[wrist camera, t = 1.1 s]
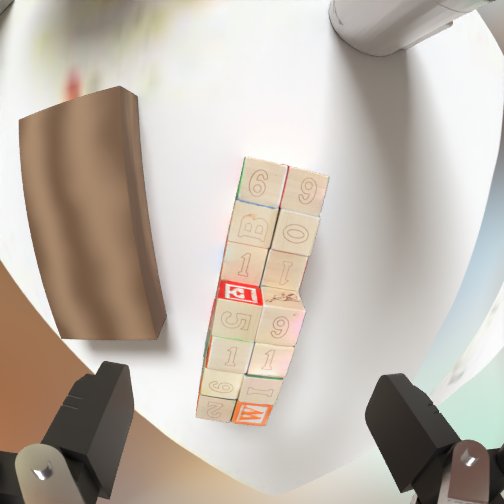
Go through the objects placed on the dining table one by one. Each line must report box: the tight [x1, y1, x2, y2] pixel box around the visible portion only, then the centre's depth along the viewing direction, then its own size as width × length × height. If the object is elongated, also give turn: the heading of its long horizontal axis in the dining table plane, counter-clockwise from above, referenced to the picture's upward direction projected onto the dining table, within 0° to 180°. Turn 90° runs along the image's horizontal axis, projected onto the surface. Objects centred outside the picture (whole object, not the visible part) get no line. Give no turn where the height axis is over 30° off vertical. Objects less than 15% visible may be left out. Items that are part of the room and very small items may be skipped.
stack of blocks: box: [196, 157, 329, 426], centre depth 26 cm, size 21×6×12 cm, turn 167°
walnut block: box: [19, 86, 167, 340], centre depth 27 cm, size 12×24×5 cm, turn 4°
